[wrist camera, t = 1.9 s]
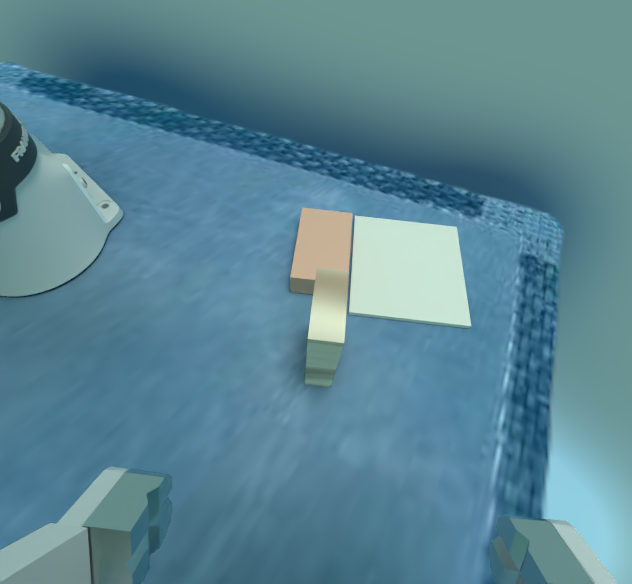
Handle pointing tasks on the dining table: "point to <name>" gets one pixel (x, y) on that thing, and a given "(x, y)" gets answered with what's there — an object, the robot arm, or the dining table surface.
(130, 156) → the dining table surface
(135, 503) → the robot arm
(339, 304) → the birch block
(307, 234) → the terracotta step
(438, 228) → the rubber mat
